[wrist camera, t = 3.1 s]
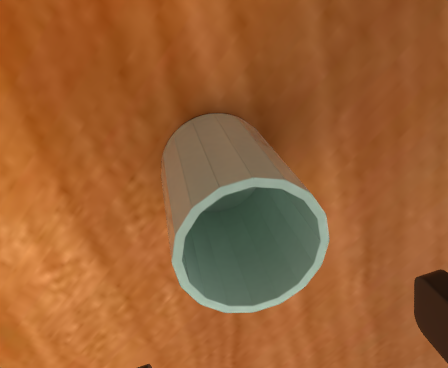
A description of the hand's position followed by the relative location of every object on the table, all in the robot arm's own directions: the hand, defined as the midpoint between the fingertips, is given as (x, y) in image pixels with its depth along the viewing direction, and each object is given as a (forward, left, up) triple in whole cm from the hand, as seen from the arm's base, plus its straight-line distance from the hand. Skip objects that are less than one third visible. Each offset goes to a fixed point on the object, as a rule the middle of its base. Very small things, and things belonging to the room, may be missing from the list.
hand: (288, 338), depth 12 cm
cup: (0, 0, -14) cm, 14 cm away
